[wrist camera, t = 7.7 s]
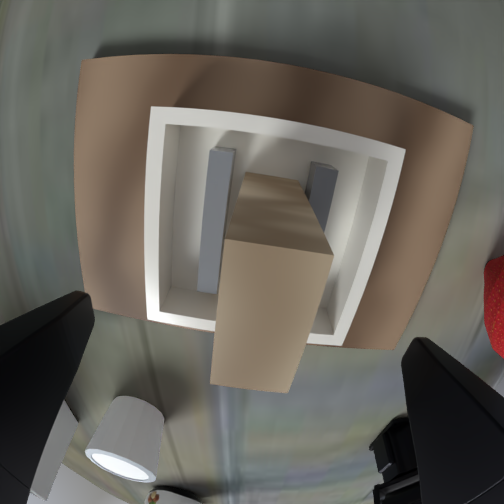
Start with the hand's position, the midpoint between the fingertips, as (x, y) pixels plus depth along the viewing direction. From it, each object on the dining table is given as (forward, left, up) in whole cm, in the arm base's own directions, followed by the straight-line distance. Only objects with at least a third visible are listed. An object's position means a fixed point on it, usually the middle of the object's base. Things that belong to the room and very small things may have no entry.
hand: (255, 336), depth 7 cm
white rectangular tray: (0, 0, -9) cm, 9 cm away
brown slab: (0, 0, -10) cm, 10 cm away
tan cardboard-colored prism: (0, 0, -8) cm, 8 cm away
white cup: (+9, +22, -10) cm, 26 cm away
